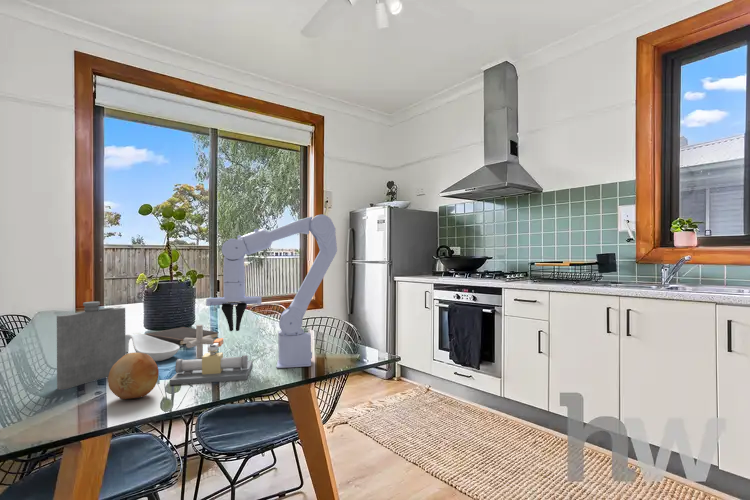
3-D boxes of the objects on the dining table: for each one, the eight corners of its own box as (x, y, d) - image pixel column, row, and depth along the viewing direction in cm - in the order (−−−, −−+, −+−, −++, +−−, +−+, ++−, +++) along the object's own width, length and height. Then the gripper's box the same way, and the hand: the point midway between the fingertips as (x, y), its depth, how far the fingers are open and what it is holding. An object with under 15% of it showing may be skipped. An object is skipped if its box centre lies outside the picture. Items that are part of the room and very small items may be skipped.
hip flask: (61, 390, 95) (61, 305, 95) (52, 388, 97) (51, 305, 97) (128, 372, 109) (127, 298, 109) (119, 370, 111) (118, 298, 111)
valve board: (252, 364, 115) (252, 342, 115) (246, 379, 101) (246, 354, 101) (185, 368, 112) (185, 346, 112) (169, 384, 98) (169, 359, 98)
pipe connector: (204, 362, 118) (203, 328, 118) (174, 361, 120) (174, 327, 120) (223, 354, 128) (223, 322, 128) (195, 352, 130) (195, 322, 130)
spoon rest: (188, 357, 126) (187, 334, 126) (154, 367, 115) (154, 342, 115) (136, 350, 135) (136, 329, 135) (100, 359, 124) (100, 335, 124)
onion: (103, 409, 83) (102, 361, 83) (113, 394, 92) (112, 350, 92) (156, 402, 87) (156, 355, 87) (160, 388, 96) (160, 346, 96)
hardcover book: (183, 332, 167) (183, 326, 167) (218, 338, 155) (218, 332, 155) (144, 339, 153) (144, 333, 153) (179, 346, 141) (179, 340, 141)
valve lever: (216, 352, 104) (216, 345, 104) (206, 353, 103) (206, 346, 103) (224, 343, 115) (224, 337, 115) (215, 343, 114) (215, 337, 114)
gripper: (262, 280, 118) (262, 326, 118) (210, 281, 115) (210, 328, 115) (260, 282, 111) (260, 331, 111) (204, 283, 108) (204, 333, 108)
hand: (234, 330), depth 112 cm, fingers closed
